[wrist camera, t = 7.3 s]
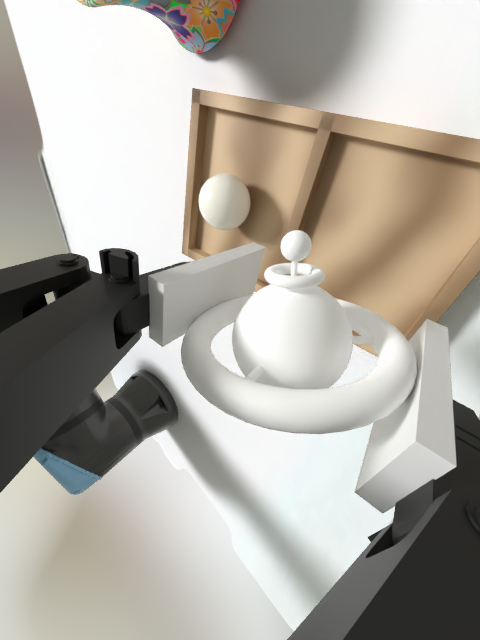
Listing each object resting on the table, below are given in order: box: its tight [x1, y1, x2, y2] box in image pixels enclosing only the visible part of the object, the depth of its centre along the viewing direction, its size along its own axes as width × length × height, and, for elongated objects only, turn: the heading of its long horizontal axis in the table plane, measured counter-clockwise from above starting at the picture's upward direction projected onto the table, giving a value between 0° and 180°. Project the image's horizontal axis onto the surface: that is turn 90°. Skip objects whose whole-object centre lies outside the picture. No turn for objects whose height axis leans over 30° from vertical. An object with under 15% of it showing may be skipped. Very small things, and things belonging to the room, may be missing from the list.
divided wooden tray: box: [182, 88, 480, 356], centre depth 23 cm, size 27×16×2 cm, turn 76°
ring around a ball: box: [181, 230, 417, 434], centre depth 9 cm, size 8×6×8 cm
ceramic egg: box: [199, 173, 251, 230], centre depth 24 cm, size 5×5×5 cm
